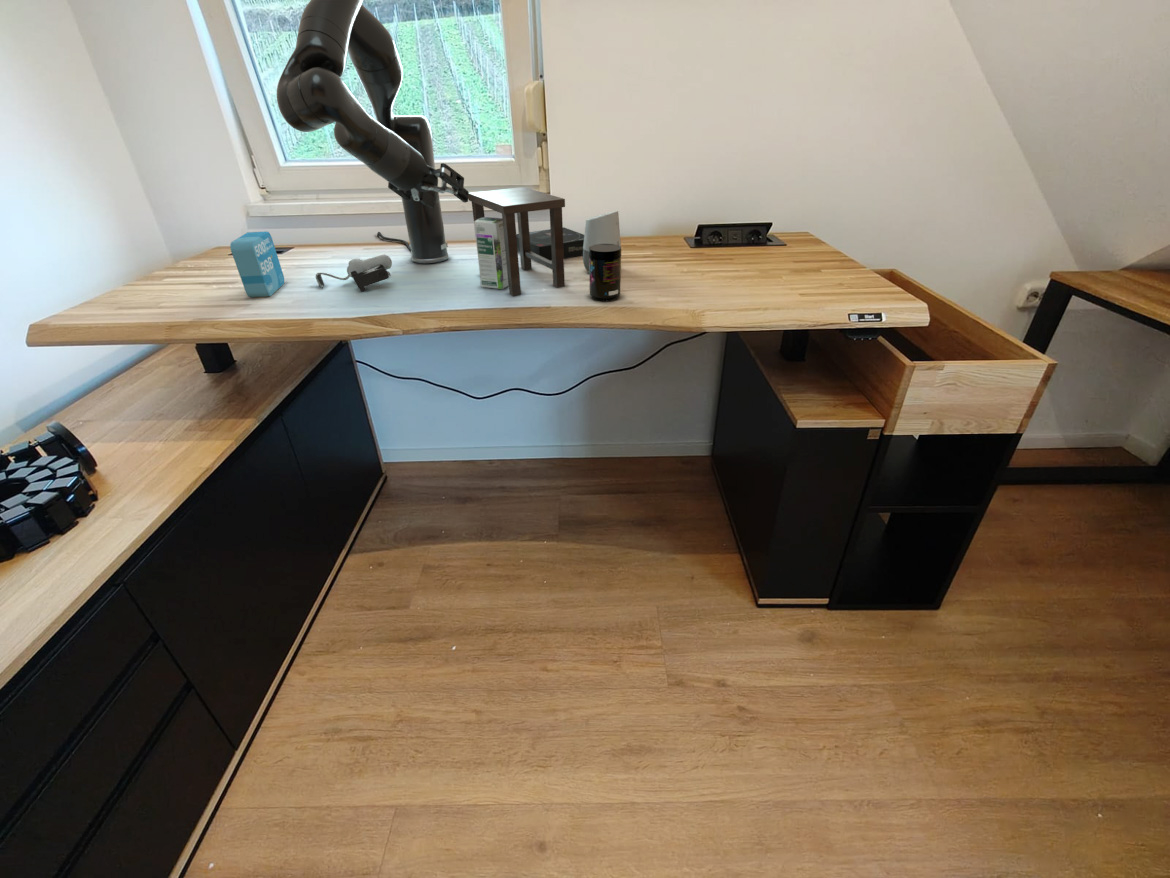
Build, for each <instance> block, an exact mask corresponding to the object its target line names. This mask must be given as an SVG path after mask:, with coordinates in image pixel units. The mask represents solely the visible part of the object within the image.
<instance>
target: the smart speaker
mask: <svg viewBox="0 0 1170 878" xmlns="http://www.w3.org/2000/svg"><path fill="white" fill-rule="evenodd" d="M620 231H621V229H620V215H619V210H614V211H609V212H607V213H603V214H600V215H596V216H593V217H590V218H587V219H586V220H585V225H584V244H583V255H582V262H583V266H584V268H585V270H586V271H587V272H588V273H589V247H590V246H592V245H596V244H615V245H619V246H621V247H622V244H621V232H620Z"/></svg>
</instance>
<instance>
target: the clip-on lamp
mask: <svg viewBox="0 0 1170 878" xmlns="http://www.w3.org/2000/svg"><path fill="white" fill-rule="evenodd" d="M392 266H393V261H392V259H391V257H390V255H387V254H385V253H384V254H381V255H377V256H374V257H369V258H366V259H361V258H352V259H351V260H349V261H348V265H347V267H346V273H347V275H346V276H345V277H339V276H337V275H333V274H331V273H330V274H329V273H327V272H317V273H316V274H315V280H316V283H317V284H318V286H319V287H320V288H324V286H325V283H324V280H323V277H322V275H324V276H328V277H330V278H333V279H337V280H340V281H347V280H348V279H350V278H351V279H353V281H354V283H355V285H356V286H357V288H358V290H359V291H360V292H361V293H362V292H365V291H366V289H367V288H366V287H368V286H371V285H374V284H376V283H380V282H382V281H383V282H384V281H386V280H388V279H390V276H391V272H390V271H388V270H390V269H391V268H392Z"/></svg>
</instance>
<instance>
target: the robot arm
mask: <svg viewBox="0 0 1170 878" xmlns="http://www.w3.org/2000/svg"><path fill="white" fill-rule="evenodd" d="M363 2H364V0H310V1H309V2H308V3H307V5H306V6H305V7H304V9H303V12H302V14H301V17H300V20H299V26H298V31H297V36H296V42H295V48H294V50H293V51H292V54H291V55H290V57H289V58H288V60H287V63H286V64H285V66H284V69H283V71H282V73H281V75H280V77H279V79H278V83H277V87H276V103H277V107H278V110H279V112H280V114H281V116H282V118H283V119H284V120H285V122H286V123H287V124H288V125H289V126H290V127H292V128H293V129H295V130H297V131H299V132H301V133H310V132H315V131H317V130H320V129H323V128H324V127H327V126H329V125H331V124H334V126H333V127H334V128H333V135H334V139H335V142H336V143H337V144H338V146H339V147H340V148H342V150H344V151H345V152H347V153H348V154H349V155H351V156H353V157H354V158H355V159H357V160H358V161H360V162H361V163H363V164H364V165H365V166H366V167H367V168H369V170H371V171H372V172H373V173H375V174H377V176H379V177H381V178H382V179H384V180H385V181H387V188H388V189H389V190H391V191H392V192H393V193H395V194H397V195H398V196H399V197H401V202H402V207H403V208H402V209H403V213H404V219H405V225H406V230H407V236H408V241H406V240H404V239H401V238H393V237H386V236H384V235H383V234H382V232H380V231H377V234H376V236H377V237H380V238H381V239H382V240H385V241H391V242H398V243H403V244H405V245H406V248H407V250H408V251H410V253H411V260H412V262H414V263H416V264H436V263H441V262H445V261H446V260H448V259H449V252H448V247H449V245H448V242H447V240H446V235H445V234H446V233H445V226H444V220H443V219H444V218H443V212H442V206H441V200H440V199H441V198H440V194H445V193H448V194H452V195H453V196H455V197H456V198H457V199H459V200H460V201H461V202H462V203H465V204H466V203H468V202H469V200H468V197H469V193H470V192H469V191H468V189H466V188H465V187H464V186H465V177H464V176H463V175H461V174H460V173H458V172H457V171H456V170H455V169H453V168H452V167H451V166H449V165H448V164H446V163H440V165H439V168H436V164H435V155H434V144H433V143H434V141H433V135H432V130H431V129H432V128H431V125H430V122H429V120H428V119H427V117H426V116H424V115H420V114H419V115H418V114H417V115H413V114H411V115H395V114H394V113H393V107H394V103H395V100H396V98H397V96H398V93H399V91H400V88H401V86H402V83H403V78H404V77H403V76H404V70H403V65H402V62H401V59H400V55H399V52H398V49H397V47H396V43H395V40H394V39H393V37H392V35H391V33H390V32H389V30H388V29H387V28H386V27H385V26H384V25H383V24H382V22H381V21H380V20H379V19H378V18H377V17H376V16H375V15H374V14H372V12H370V10H368V8H367V7H366V6H365V5H363ZM348 56H349V58H350V60H351V63H352V65H353V68H354V70H355V72H356V74H357V76H358V79H359V81H360V83H361V85H362V88H363V89H364V92H365V94H366V96H367V99H368V100H369V103H370V106H371V108H372V110H373V113H374V116H375V118H374V117H373V116H372V115H371V114H369V113H368V111H366V109H365V108H364V107H363V106H362V104H361V103H360V101H359V100H358V99H357V98H356V96H355V95H354V94H353V92H352V91H351V90H350V88H349V87H348V86H347V84H346V83H345V81H344V80H343V79H342V76H343V74H344V72H345V69H346V64H347V59H348V58H347V57H348ZM439 179H440V180H441V185H440V186H439ZM447 184H448V185H449V186H451V187H448V186H447ZM408 242H409V243H408Z"/></svg>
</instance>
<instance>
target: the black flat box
mask: <svg viewBox="0 0 1170 878" xmlns="http://www.w3.org/2000/svg"><path fill="white" fill-rule="evenodd" d="M584 234H585V233H584ZM584 234H583V233H580V232H578V231H575V230H573V229H570V228H567V227H564V226H563V250H564V260H565V259H570V258H576V257H583V244H584ZM529 235H530V250H531V252H533V253H535V254H537V255H540V256H542V257H544V258H546V259H548V260H550V261H552V251H551V230H550V229H543V230H537V231H536V230H535V231H529ZM516 237H517V249H518V254H520V245H519V233H516Z"/></svg>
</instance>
